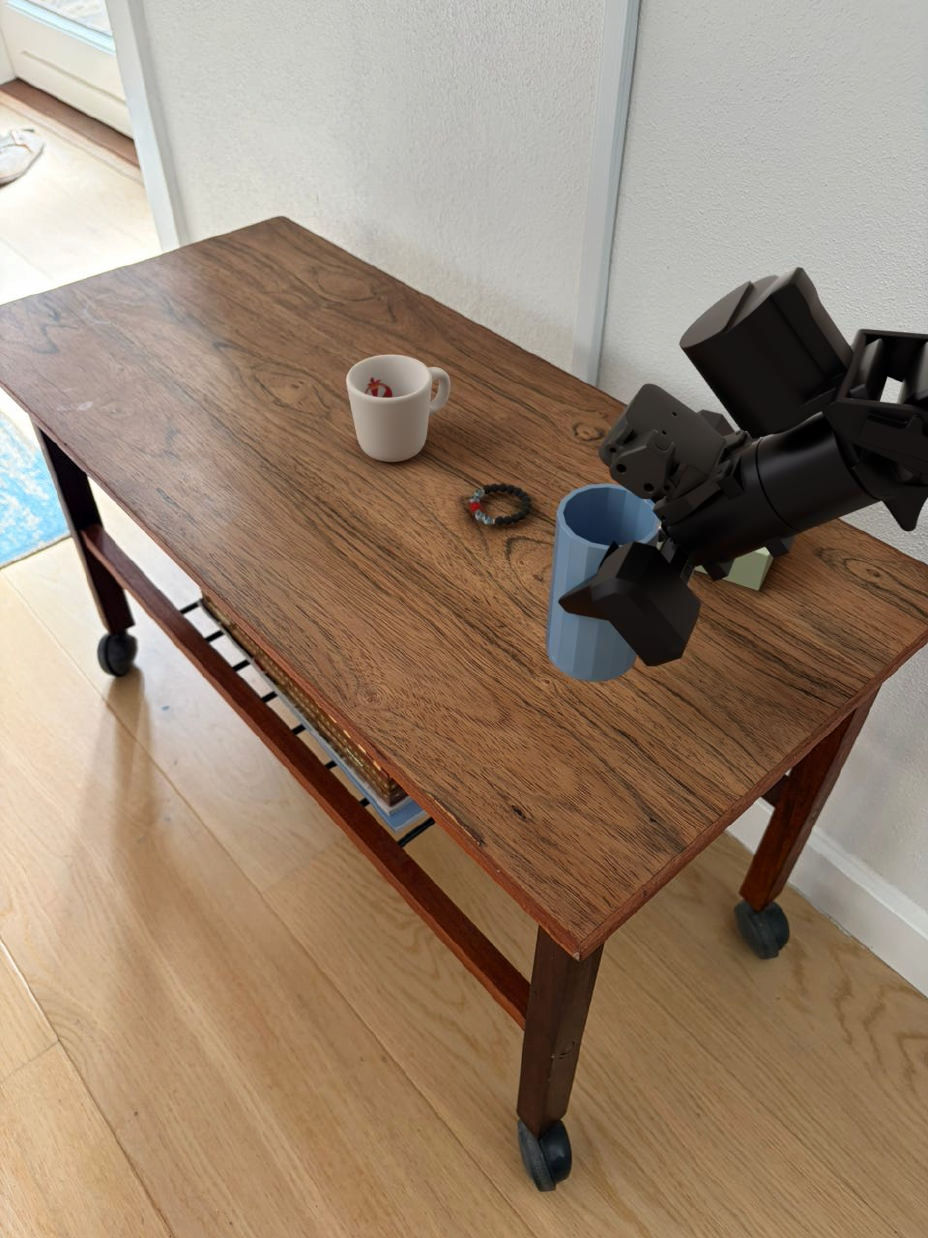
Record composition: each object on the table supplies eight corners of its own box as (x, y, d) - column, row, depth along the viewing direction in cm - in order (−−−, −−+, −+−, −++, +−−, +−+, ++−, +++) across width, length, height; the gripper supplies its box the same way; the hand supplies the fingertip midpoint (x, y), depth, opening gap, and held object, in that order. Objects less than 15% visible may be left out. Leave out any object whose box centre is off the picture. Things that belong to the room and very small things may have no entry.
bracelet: (463, 493, 95) (463, 484, 94) (522, 485, 96) (523, 477, 95) (476, 532, 91) (477, 523, 90) (538, 524, 92) (539, 515, 91)
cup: (424, 405, 105) (423, 335, 100) (472, 441, 101) (473, 370, 95) (336, 442, 101) (329, 371, 95) (381, 481, 96) (377, 409, 90)
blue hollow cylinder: (654, 643, 72) (680, 511, 63) (603, 697, 68) (624, 564, 60) (579, 603, 75) (595, 471, 66) (527, 652, 71) (537, 519, 63)
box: (786, 530, 92) (797, 493, 89) (758, 591, 86) (769, 554, 83) (680, 497, 95) (687, 460, 92) (646, 554, 89) (653, 517, 86)
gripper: (746, 291, 60) (557, 406, 71) (650, 465, 48) (441, 571, 59) (845, 436, 63) (650, 524, 74) (780, 632, 51) (558, 703, 62)
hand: (581, 572), depth 67 cm, fingers closed on blue hollow cylinder, 6 cm apart
